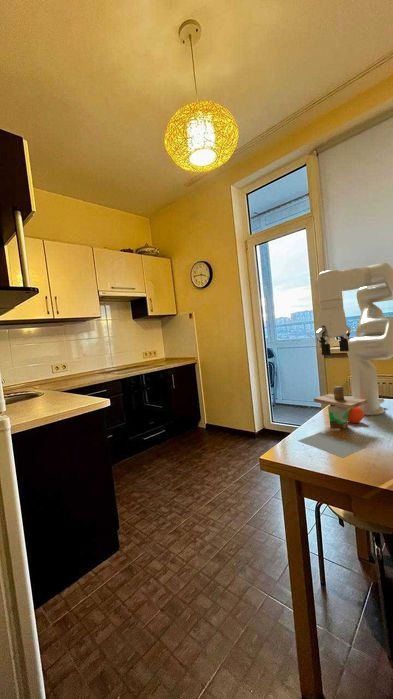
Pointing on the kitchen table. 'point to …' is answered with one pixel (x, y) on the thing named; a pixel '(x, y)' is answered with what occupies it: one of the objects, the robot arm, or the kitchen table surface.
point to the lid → (340, 399)
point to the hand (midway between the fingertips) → (335, 353)
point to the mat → (332, 444)
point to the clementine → (354, 415)
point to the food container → (337, 418)
